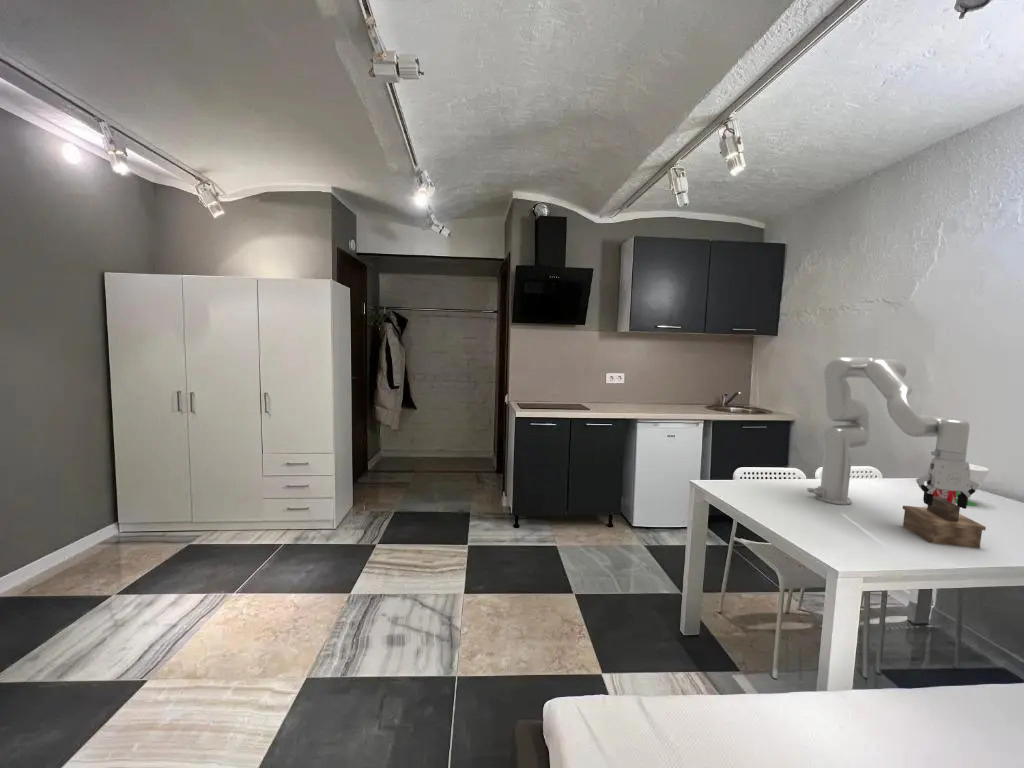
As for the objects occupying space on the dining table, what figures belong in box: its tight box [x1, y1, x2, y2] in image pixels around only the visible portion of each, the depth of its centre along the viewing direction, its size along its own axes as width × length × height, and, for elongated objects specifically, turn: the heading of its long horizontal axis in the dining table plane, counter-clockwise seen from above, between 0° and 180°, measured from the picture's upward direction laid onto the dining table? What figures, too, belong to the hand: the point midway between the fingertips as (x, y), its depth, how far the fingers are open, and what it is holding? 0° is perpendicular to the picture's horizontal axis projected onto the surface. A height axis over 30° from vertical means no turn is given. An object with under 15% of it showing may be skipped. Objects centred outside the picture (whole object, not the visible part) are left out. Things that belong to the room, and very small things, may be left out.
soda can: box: [931, 489, 957, 505], centre depth 185 cm, size 7×7×12 cm
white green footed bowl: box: [955, 463, 990, 507], centre depth 196 cm, size 14×14×16 cm
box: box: [902, 510, 983, 549], centre depth 157 cm, size 14×14×7 cm
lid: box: [902, 496, 987, 531], centre depth 156 cm, size 15×15×7 cm
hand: (944, 505), depth 156 cm, fingers open, 9 cm apart
